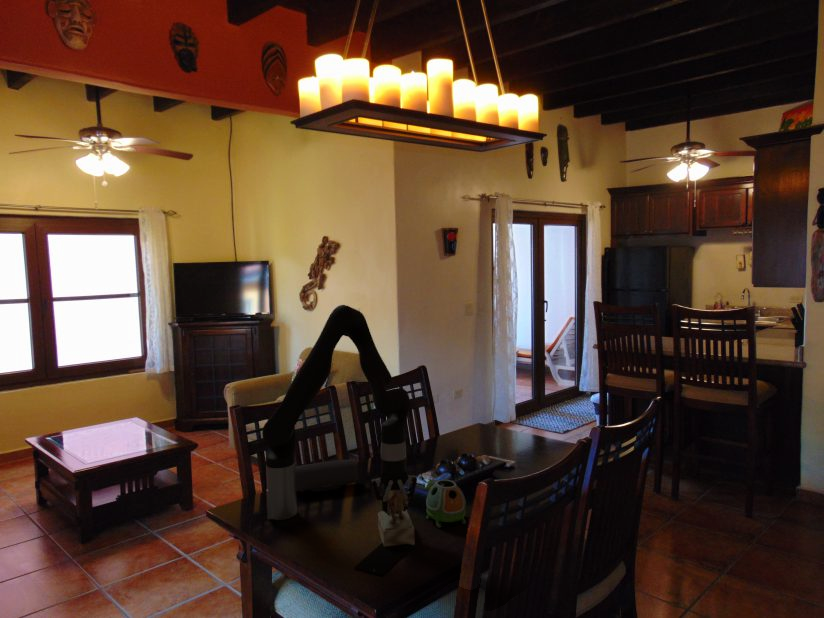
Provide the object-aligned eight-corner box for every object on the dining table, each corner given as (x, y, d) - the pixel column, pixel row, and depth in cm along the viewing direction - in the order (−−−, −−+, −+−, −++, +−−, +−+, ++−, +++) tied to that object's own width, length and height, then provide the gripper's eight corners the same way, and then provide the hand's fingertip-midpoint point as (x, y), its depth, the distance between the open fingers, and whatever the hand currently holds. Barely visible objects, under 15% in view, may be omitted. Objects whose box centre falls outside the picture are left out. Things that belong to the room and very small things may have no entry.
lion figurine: (413, 523, 169) (409, 493, 168) (396, 528, 167) (392, 499, 166) (395, 504, 183) (390, 477, 182) (379, 509, 181) (375, 482, 180)
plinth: (383, 548, 168) (383, 529, 167) (378, 528, 180) (377, 510, 180) (414, 544, 169) (414, 526, 169) (406, 525, 182) (406, 507, 182)
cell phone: (413, 547, 168) (413, 544, 168) (382, 578, 152) (381, 574, 152) (386, 541, 172) (386, 538, 172) (353, 571, 156) (353, 567, 156)
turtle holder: (446, 503, 198) (445, 468, 197) (473, 524, 182) (473, 486, 181) (413, 510, 193) (412, 475, 192) (438, 532, 177) (437, 494, 176)
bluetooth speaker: (353, 480, 221) (353, 454, 221) (359, 489, 213) (358, 462, 212) (293, 488, 215) (292, 462, 214) (296, 498, 206) (295, 470, 205)
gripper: (371, 462, 168) (372, 519, 169) (419, 457, 171) (421, 514, 172) (368, 453, 175) (369, 508, 177) (414, 449, 178) (416, 504, 179)
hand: (395, 511), depth 174 cm, fingers open, 4 cm apart
